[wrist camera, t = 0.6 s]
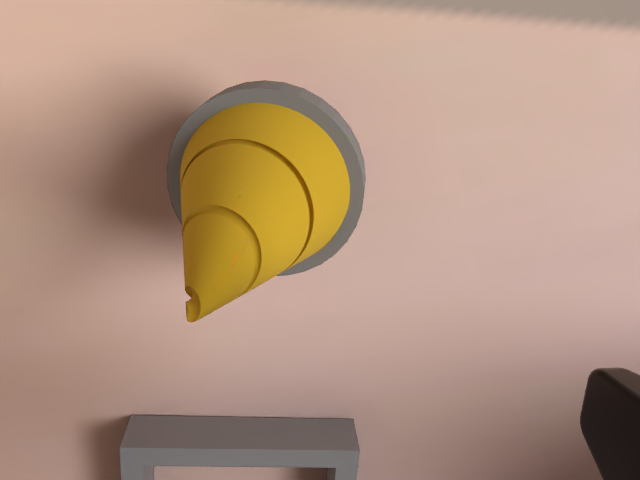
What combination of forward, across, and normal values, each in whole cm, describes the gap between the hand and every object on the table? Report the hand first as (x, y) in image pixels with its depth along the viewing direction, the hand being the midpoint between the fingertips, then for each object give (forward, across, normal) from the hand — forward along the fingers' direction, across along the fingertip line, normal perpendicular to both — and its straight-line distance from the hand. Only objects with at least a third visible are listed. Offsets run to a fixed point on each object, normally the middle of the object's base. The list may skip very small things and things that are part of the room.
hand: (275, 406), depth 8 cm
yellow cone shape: (+12, 0, -1) cm, 12 cm away
